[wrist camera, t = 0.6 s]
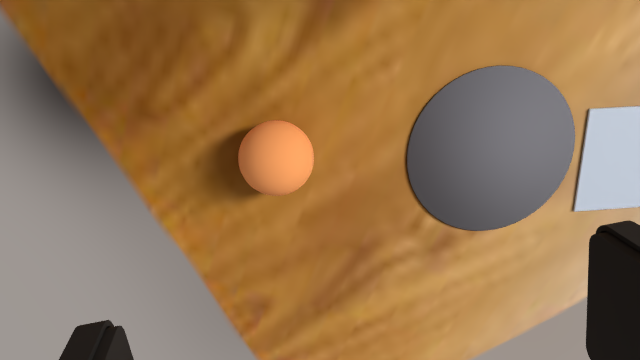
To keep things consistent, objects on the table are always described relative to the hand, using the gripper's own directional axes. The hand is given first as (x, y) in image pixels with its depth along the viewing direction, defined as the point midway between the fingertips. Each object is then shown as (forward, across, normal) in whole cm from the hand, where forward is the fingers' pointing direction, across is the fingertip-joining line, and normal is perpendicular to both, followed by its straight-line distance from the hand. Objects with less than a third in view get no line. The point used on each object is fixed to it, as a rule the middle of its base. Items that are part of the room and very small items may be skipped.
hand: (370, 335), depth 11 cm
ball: (+29, +1, +5) cm, 29 cm away
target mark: (+31, -16, +8) cm, 36 cm away
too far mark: (+31, -28, +11) cm, 43 cm away
